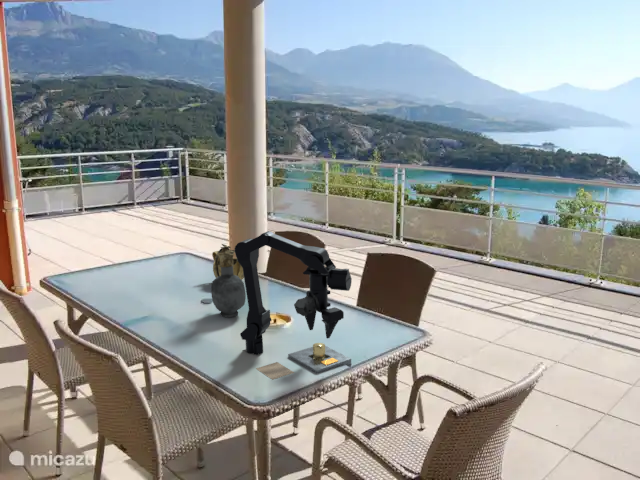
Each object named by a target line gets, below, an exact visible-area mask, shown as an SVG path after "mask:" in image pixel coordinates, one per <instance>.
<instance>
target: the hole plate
mask: <svg viewBox="0 0 640 480" xmlns="http://www.w3.org/2000/svg"><path fill="white" fill-rule="evenodd" d="M287 354H288V355H287V357H288V359H290V360H293V361H294V362H296V363H297V364H299V365H301V366H303V367H305V368H307V369H308V370H310V371H311V372H313V373H315V374H316V375H317V374H319V373H323V372H325V371H329V370H331V369H335V368H337V367H340V366H342V365H345V366H347V367H348V366H351V365H352V358H350V357H349V356H346V355H345V354H342V353H341V352H339V351H336V350H335V349H333V348H331V347H328V346H326V345H325V359H323V360H320V361H316V360H314V359H313V346H309V347H307V348H304V349H300V350H297V351H294V352H291V353H287Z"/></svg>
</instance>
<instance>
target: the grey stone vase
mask: <svg viewBox="0 0 640 480" xmlns="http://www.w3.org/2000/svg"><path fill="white" fill-rule="evenodd" d="M217 251H218V254H217V255H216V256H215V268H216V271H217V275H218V277H217V278H216V277H215V278H214V279H213V281H212V282H211V285H210V287H211V288H210V289H211V291H210V293H211V299H212V303H213V306H214V307H215V308H216V310H218V311H219V312H220V316H221V317H223V318H234V317H236V316H238V315H239V312H238V310H241V308H242V307H244V305H245V303H246V298H247V293H246V287H245V282H243V279H242V280H241V279H240V278H239V277H238V276H236V275H233V258H234V256H235V249H231V246H229V245H226V244H224V243H221V246H220V249H219V250H217ZM218 258H220V267H221V276H220V275H219V269H218V268H219V267H218Z"/></svg>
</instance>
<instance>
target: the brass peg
mask: <svg viewBox="0 0 640 480" xmlns="http://www.w3.org/2000/svg"><path fill="white" fill-rule="evenodd" d="M325 346H326V344H325V343H324V342H315V343H313V344H312V347H313V357H312V359H314V360H316V361H320V360H323V359H326V357H325Z"/></svg>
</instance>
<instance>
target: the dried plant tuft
mask: <svg viewBox="0 0 640 480" xmlns="http://www.w3.org/2000/svg"><path fill="white" fill-rule="evenodd" d="M218 251H219V250H216V251H215V250H214V251H212V253H211V255H212V258H213V263H212V269H213V270H212V272H213V275H214V277H215V279H216V278H217V277H218V275H217V271H216V268H215V256H216V255H217V254H218ZM218 267H219V268H218V269H219V275H220V276H221V267H220V258H218ZM233 275H236V276H238V277H239V278H240V279H241V280H242V281H243V280H244V274H243V268H242V266H241V265H240V264H239V262H238V261H237V258H236V257H233Z"/></svg>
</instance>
